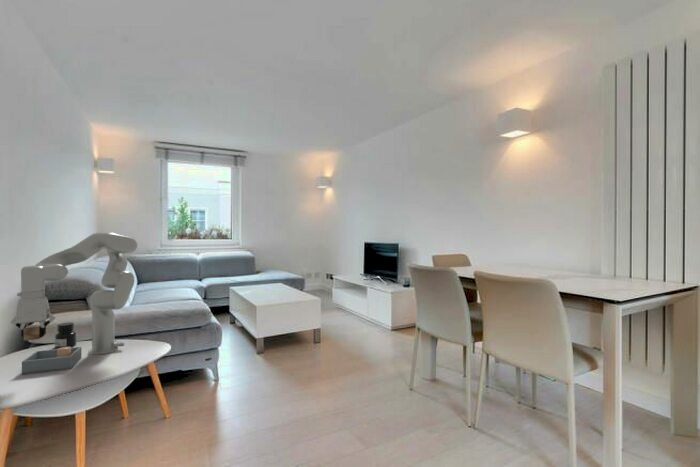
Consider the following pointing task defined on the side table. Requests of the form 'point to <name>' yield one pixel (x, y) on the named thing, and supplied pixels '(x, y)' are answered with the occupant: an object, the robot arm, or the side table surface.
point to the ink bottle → (65, 335)
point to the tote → (50, 361)
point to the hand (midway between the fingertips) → (33, 336)
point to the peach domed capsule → (63, 351)
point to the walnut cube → (32, 332)
